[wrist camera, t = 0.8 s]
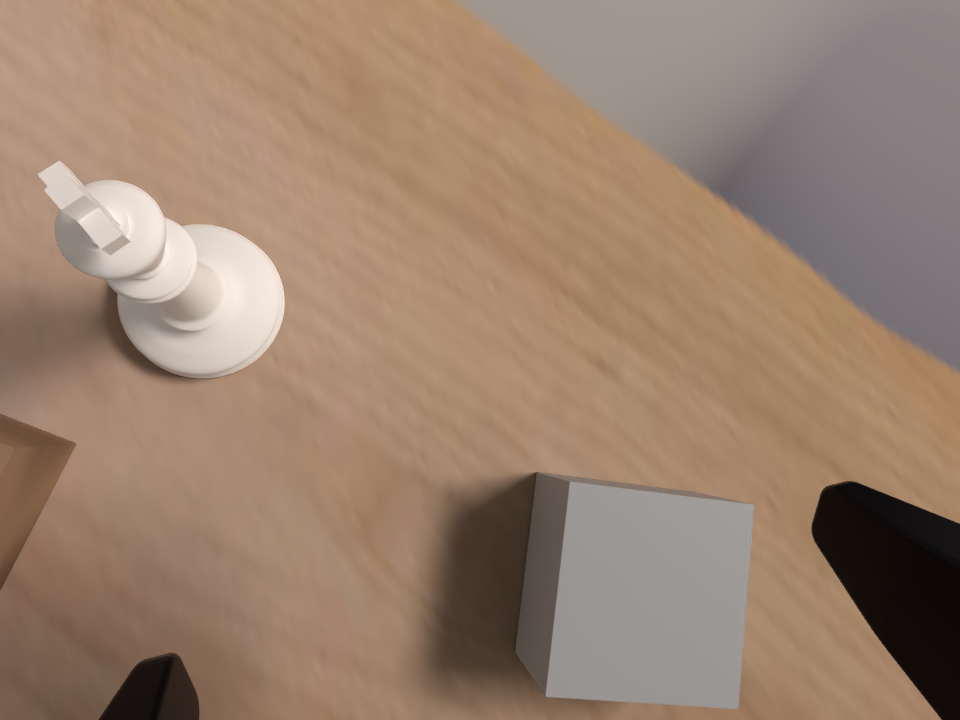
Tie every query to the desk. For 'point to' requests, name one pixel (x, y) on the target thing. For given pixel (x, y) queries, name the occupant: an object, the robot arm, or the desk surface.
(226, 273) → the chess piece
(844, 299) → the desk surface
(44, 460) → the walnut block
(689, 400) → the desk surface
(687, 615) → the slate block
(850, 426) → the desk surface
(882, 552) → the robot arm
